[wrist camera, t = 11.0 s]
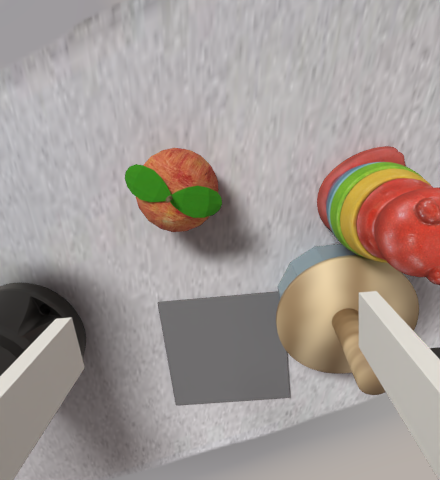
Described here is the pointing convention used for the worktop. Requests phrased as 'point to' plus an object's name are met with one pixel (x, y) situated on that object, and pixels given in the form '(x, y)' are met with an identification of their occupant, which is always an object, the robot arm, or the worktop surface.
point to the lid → (339, 314)
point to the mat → (224, 349)
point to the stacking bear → (384, 212)
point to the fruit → (175, 189)
